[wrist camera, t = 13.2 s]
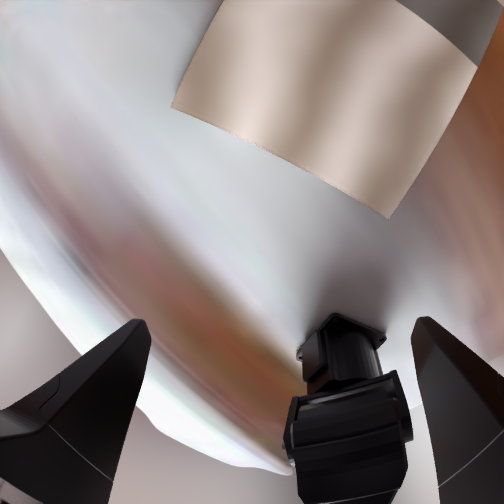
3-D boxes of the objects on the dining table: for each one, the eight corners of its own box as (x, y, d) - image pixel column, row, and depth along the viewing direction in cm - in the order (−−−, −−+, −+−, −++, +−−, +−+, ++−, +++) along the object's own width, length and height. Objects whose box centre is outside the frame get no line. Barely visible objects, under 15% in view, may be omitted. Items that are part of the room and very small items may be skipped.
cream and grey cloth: (499, -3, 10) (507, -5, 9) (383, 212, 20) (388, 219, 19) (317, -116, 8) (318, -124, 7) (176, 106, 18) (170, 107, 17)
